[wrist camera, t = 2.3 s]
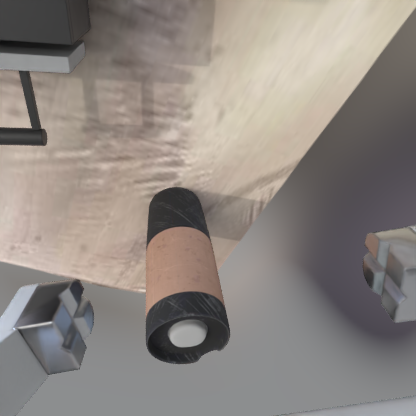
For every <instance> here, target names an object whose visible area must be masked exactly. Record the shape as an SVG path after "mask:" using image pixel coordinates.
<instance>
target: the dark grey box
mask: <svg viewBox="0 0 416 416" xmlns="http://www.w3.org/2000/svg"><path fill="white" fill-rule="evenodd" d="M90 28H91V27H90V18H89V8H88V0H0V40H6V41H21V42H35V43H49V44H63V45H72V44H73V43H74V42H76V41H77V40H78V39H79V38H80V37H81V36H82V35H84V34H85V33H86V32H87V31H88V30H89V29H90Z"/></svg>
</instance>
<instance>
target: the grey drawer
mask: <svg viewBox="0 0 416 416" xmlns="http://www.w3.org/2000/svg"><path fill="white" fill-rule="evenodd" d="M84 56H85V47H84V42H82V41H76V42H74V43H73V44H72V45H63V44H49V43H35V42H21V41H6V40H0V69H1V70H18V71H19V74H20V78H21V83H22V87H23V91H24V96H25V100H26V104H27V109H28V113H29V117H30V122H31V126H32V128H5V127H0V145H31V146H45V145H46V144H47V133H46V131H45V129H41V124H40V119H39V115H38V110H37V105H36V101H35V96H34V91H33V87H32V82H31V77H30V73H29V71H36V72H54V73H71V72H72V71H73V69H74V68H75V67H76V66H77V65H78V63H79V62H80V61H81V60H82V59H83V57H84Z"/></svg>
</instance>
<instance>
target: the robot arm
mask: <svg viewBox="0 0 416 416" xmlns="http://www.w3.org/2000/svg"><path fill="white" fill-rule="evenodd" d="M365 246H366V248H367V249H368V250H369V252H368V253H367V254H366V256H365V257H364V258H363V271H364V276H365V279H366V281H367V283H368V285H369V287H370V288H371V290H372V291H373V292H376V293H377V294H379V295H381V296H382V298H381V304H382V306H383V307H384V308H385V309H386V311H387V313H388V314H389V316H390V317H391V319H392V320H393V321H394V323H397V322H405V321H414V320H416V225H413V226H407V227H405V228H398V229H392V230H386V231H379V232H373V233H368V235H367V237H366V240H365ZM83 290H84V288H83V286H82V284H81V282H80V280H77V279H69V280H62V281H54V282H47V283H42V284H33V285H26V286H23V287H22V288H20V289H19V290H18V292H17V293H16V295H15V296H14V298H13V300H12V301H11V303H10V304H9V306H8V307H7V309H6V311H5V312H4V314H3V315H2V317H1V318H0V416H16V415H17V414H18V412H19V411H20V410H21V409H22V408H23V406H24V405H25V404H26V403H27V402H28V400H29V399H30V398H31V397H32V395H33V394H34V393H35V392H36V391H37V390H38V388H39V387H40V386H41V385H42V384H43V382H44V381H45V380H46V379H47V377H48V375H50V374H55V373H61V372H66V371H72V370H78V369H80V366H81V363H82V360H83V357H84V354H85V351H86V345H85V343H84V340H85V339H86V338H87V337H88V336H89V335H90V334H91V331H92V328H93V323H94V322H93V321H94V313H93V308H92V305H91V303H90V301H89V300H88V299H86V298H85V297H83V296H82V293H83ZM275 416H416V396H410V397H403V398H395V399H388V400H381V401H374V402H367V403H360V404H353V405H347V406H340V407H332V408H325V409H319V410H311V411H305V412H297V413H290V414H283V415H275Z"/></svg>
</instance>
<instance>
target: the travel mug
mask: <svg viewBox="0 0 416 416" xmlns="http://www.w3.org/2000/svg"><path fill="white" fill-rule="evenodd" d="M229 338H230V328H229V324H228V319H227V315H226V310H225V305H224V300H223V295H222V290H221V286H220V281H219V276H218V271H217V267H216V262H215V257H214V252H213V248H212V243H211V240H210V236H209V232H208V229H207V225H206V221H205V218H204V214H203V210H202V207H201V204H200V201H199V199H198V198H197V196H196V195H195V194H194V193H193V192H191V191H189V190H187V189H184V188H178V187H174V188H168V189H165V190H163V191H161V192H159V193H158V194H157V195H155V197H154V198H153V199H152V201H151V203H150V206H149V216H148V231H147V247H146V345H147V349H148V351H149V352H150V353H151V355H152V356H154V357H155V358H157V359H159V360H161V361H163V362H168V363H173V364H189V363H194V362H197V361H198V360H199V359H200V357H201V356H202V355H204V354H206V353H208V352H210V351H213V350H218V351H221V350H222V349H223V348H224V347H225V346H226V345H227V343H228V341H229Z"/></svg>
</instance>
